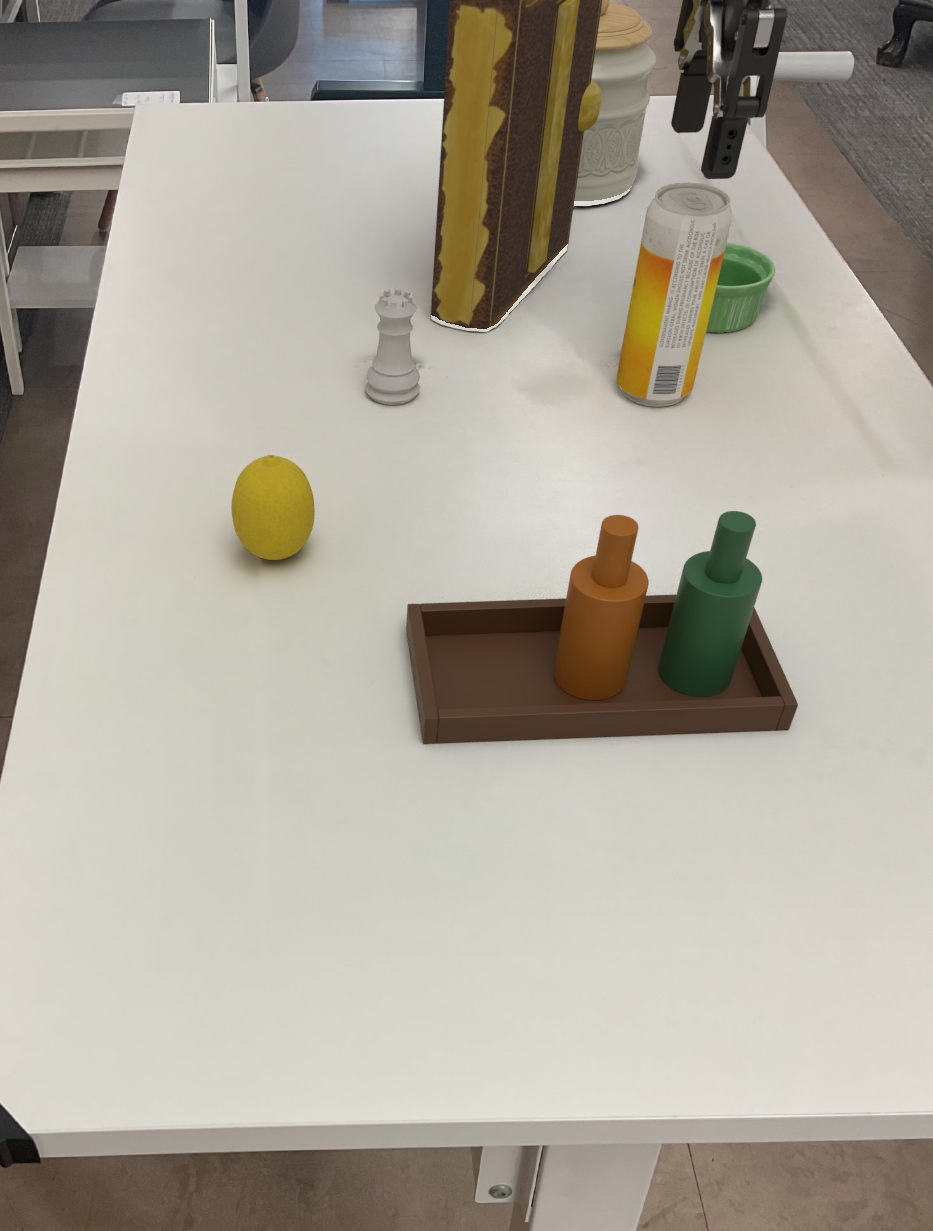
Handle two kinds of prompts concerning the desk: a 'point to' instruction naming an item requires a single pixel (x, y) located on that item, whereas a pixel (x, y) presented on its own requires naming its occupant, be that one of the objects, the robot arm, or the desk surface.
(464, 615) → the tray
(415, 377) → the rook chess piece
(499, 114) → the book
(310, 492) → the lemon
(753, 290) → the ramekin
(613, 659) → the amber bottle
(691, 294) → the beer can
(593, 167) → the jar
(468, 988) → the desk surface
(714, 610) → the green bottle
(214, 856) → the desk surface
